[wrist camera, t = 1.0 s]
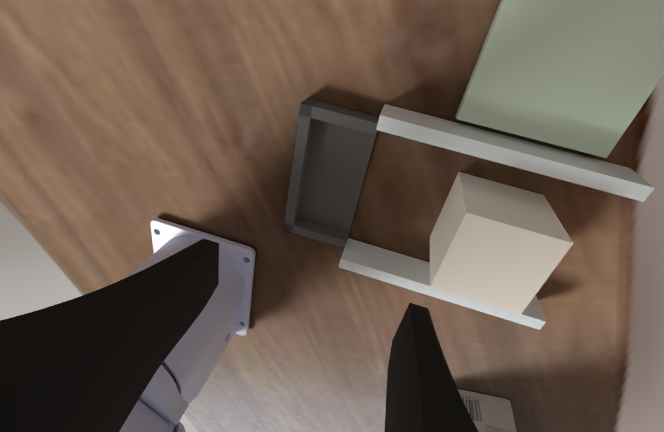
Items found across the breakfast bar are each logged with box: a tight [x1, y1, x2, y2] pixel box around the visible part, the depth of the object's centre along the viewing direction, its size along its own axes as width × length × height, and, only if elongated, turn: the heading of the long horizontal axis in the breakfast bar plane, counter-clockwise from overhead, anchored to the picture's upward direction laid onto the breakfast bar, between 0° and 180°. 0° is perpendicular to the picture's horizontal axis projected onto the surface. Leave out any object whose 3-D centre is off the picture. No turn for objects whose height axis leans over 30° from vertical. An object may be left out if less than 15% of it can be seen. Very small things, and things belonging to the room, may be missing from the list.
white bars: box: [339, 104, 655, 330], centre depth 19 cm, size 9×12×2 cm
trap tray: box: [283, 98, 379, 249], centre depth 20 cm, size 8×4×1 cm, turn 169°
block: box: [430, 172, 573, 315], centre depth 18 cm, size 4×4×4 cm
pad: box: [455, 0, 664, 158], centre depth 15 cm, size 7×7×1 cm
